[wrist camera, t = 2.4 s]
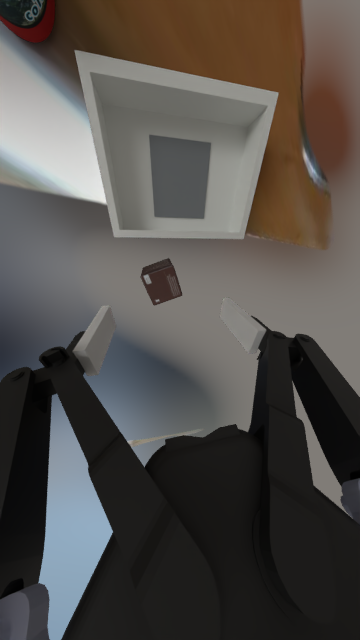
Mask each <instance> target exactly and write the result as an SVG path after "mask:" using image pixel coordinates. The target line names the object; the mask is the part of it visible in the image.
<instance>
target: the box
mask: <svg viewBox="0 0 360 640" xmlns="http://www.w3.org/2000/svg"><path fill="white" fill-rule="evenodd" d="M141 279H142V282H143V284H144V286H145V288H146V290H147V293H148V294H149V296H150V298H151V300H152V303H153V305H157V304H160V303H163V302H166V301H168V300H171V299H174V298H177V297H180V296H182V292H181V288H180V285H179V282H178V278H177V276H176V273H175V269H174V266H173V265H172V263H171V261H170V259H165V260H162V261H160V262H157V263H154V264H152V265H149V266H146V267H144V268H143V270H142V274H141Z"/></svg>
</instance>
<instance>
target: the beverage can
mask: <svg viewBox="0 0 360 640" xmlns="http://www.w3.org/2000/svg"><path fill="white" fill-rule="evenodd" d="M54 19H55V0H0V20H1V21H2V22H3V23H4V24H5V25H6V26H7V27H8V28H9V29H10V30H11V31H12V32H14V33H15V34H16V35H17V36H19V37H21V38H22V39H24V40H27V41H29V42H35V43H37V42H42V41H44V40H45V39H46V38H47V37H48V36H49V35H50V33H51V31H52V28H53V25H54Z"/></svg>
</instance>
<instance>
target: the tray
mask: <svg viewBox="0 0 360 640" xmlns="http://www.w3.org/2000/svg"><path fill="white" fill-rule="evenodd" d="M74 51H75V55H76V60H77V65H78V70H79V74H80V79H81V84H82V88H83V93H84V98H85V102H86V107H87V112H88V117H89V121H90V126H91V131H92V135H93V140H94V145H95V149H96V154H97V159H98V164H99V168H100V173H101V178H102V182H103V187H104V192H105V196H106V201H107V206H108V211H109V215H110V220H111V225H112V229H113V234H114V237H127V238H128V237H129V238H194V239H196V238H199V239H244V235H245V231H246V227H247V222H248V218H249V214H250V210H251V206H252V202H253V197H254V193H255V189H256V185H257V181H258V177H259V173H260V168H261V164H262V160H263V156H264V152H265V148H266V143H267V139H268V135H269V131H270V127H271V123H272V118H273V114H274V110H275V106H276V102H277V98H278V94H279V93H277V92H273V91H268V90H263V89H258V88H254V87H249V86H244V85H239V84H235V83H230V82H225V81H220V80H216V79H211V78H206V77H201V76H197V75H192V74H187V73H182V72H178V71H173V70H168V69H163V68H159V67H154V66H149V65H145V64H140V63H135V62H130V61H126V60H121V59H116V58H111V57H107V56H102V55H97V54H92V53H88V52H83V51H78V50H74Z"/></svg>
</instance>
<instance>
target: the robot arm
mask: <svg viewBox="0 0 360 640" xmlns="http://www.w3.org/2000/svg"><path fill="white" fill-rule="evenodd" d="M220 318H221V319H222V321H223V322H224V323H225V325H226V326H227V327H228V328H229V330H230V331H231V332H232V333H233V335H234V336H235V337H236V339H237V340H238V341H239V342H240V344H241V345H242V346H243V348H244V349H245V350H246V351H247V353H248V354H253V353H256V352H257V349H259V350H260V351H261V352H260V354H259V356H258V358H257V360H258V359H259V362H258V370H257V379H256V386H255V395H254V402H253V411H252V419H251V425H250V428H249V431H248V432H246V431H243V430H240V429H238V428H237V425H236V424H234V425H229V426H225V427H220V428H218V429H217V430H215V431H213V432H212V433H210V434H209V435H207V436H206V437H203V438H202V437H193V436H184V435H183V436H179V437H174V438H170V439H166V440H165V442H166V444H165V445H164V446H162V447H161V448H159V449H158V450H157V451H156V452H155V453H154V454H153V455H152V457H151V458H150V459H149V461H148V462H147V464H146V466H145V468H144V466H143V465H142V463H141V462H140V460H139V459H138V457H137V456H136V454H135V453H134V451H133V450H132V448H131V447H130V445H129V444H128V442H127V441H126V439H125V438H124V436H123V435H122V434H121V432H120V431H119V429H118V428H117V426H116V425H115V423H114V422H113V420H112V419H111V417H110V416H109V414H108V413H107V411H106V410H105V408H104V407H103V406H102V404H101V402H100V401H99V399H98V398H97V396H96V395H95V393H94V392H93V390H92V389H91V387H90V386H89V384H88V383H87V382H86V380H85V379H84V377H83V374H84V372H85V373H86V374H87V376H92V375H98V374H99V371H100V368H101V366H102V363H103V360H104V357H105V355H106V352H107V349H108V347H109V344H110V341H111V338H112V336H113V333H114V331H115V328H116V324H115V321H114V318H113V315H112V311H111V308H110V306H102V307H101V309H100V310H99V312H98V314H97V315H96V316H95V318H94V319H93V321H92V322H91V324H90V325H89V327H88V328H87V330H86V331H82V332H80V333H79V334H77V335H76V336H75V337H74V339H73V341H72V342H71V343H70V344H69V346H68V347H67V349H66V350H65V348H63V347H54V348H51V349H49V350H47V351H45V352H44V353H42V354H41V355H40V357H39V361H40V362H41V363H42V364H43V365H44V368H40V369H38V370H34V371H32V370H31V369H30V368H29V367H23V368H19V369H16V370H14V371H12V372H11V373H9V374H7V375H6V376H5V377H4V378H3V379H2V380H1V382H0V640H50V639H49V635H48V628H47V624H48V611H49V594H48V590H47V588H46V587H45V585H43V584H40V583H38V582H39V576H40V570H41V565H42V559H43V551H44V541H45V527H46V505H47V486H48V485H47V484H48V465H49V443H50V423H51V402H52V395H54V394H56V393H57V394H58V397H59V399H60V401H61V403H62V406H63V408H64V410H65V412H66V415H67V417H68V419H69V421H70V424H71V426H72V428H73V430H74V433H75V435H76V437H77V440H78V442H79V444H80V446H81V449H82V451H83V453H84V455H85V457H86V460H87V462H88V466H89V467H88V472H89V476H90V478H91V481H92V483H93V485H94V488H95V490H96V492H97V495H98V497H99V499H100V502H101V504H102V507H103V509H104V511H105V513H106V516H107V518H108V520H109V523H110V525H111V527H112V530H113V533H112V535H111V537H110V540H109V542H108V544H107V546H106V548H105V550H104V552H103V554H102V556H101V558H100V560H99V562H98V565H97V566H96V569H95V571H94V573H93V575H92V577H91V579H90V581H89V583H88V585H87V587H86V589H85V591H84V593H83V595H82V598H81V599H80V602H79V604H78V606H77V608H76V610H75V612H74V614H73V616H72V618H71V620H70V622H69V624H68V626H67V628H66V630H65V633H64V635H63V637H62V639H61V640H360V397H359V396H358V395H357V394H356V392H355V391H354V390H353V388H352V387H351V386H350V385H349V383H348V382H347V381H346V380H345V378H344V377H343V376H342V375H341V373H340V372H339V371H338V369H337V368H336V367H335V366H334V364H333V363H332V362H331V361H330V359H329V358H328V357H327V356H326V354H325V353H324V352H323V350H322V349H321V348H320V347H319V345H318V344H317V343H316V342H315V341H314V340H313V338H311V337H309V336H307V335H304V334H296V336H295V337H294V338H288V337H286V336H285V335H284V334H282V333H280V332H276V331H271V330H270V329H269V328H268V327H266V326H265V325H264V324H263V323H262V322H260V321H259V320H258V319H257V318H255V317H253V316H250V315H249V314H247V313H246V312H245V311H244V310H243V309H242V308H241V307H239V306H238V305H237V304H236V303H235V302H234V301H232V300H231V299H230V298H229V297H228V298H223V302H222V307H221V312H220ZM292 381H293V383H294V385H295V387H296V390H297V392H298V395H299V397H300V399H301V401H302V404H303V406H304V408H305V411H306V413H307V415H308V418H309V420H310V422H311V425H312V427H313V429H314V432H315V434H316V436H317V439H318V441H319V443H320V445H321V448H322V450H323V453H324V455H325V457H326V459H327V461H328V463H329V465H330V467H331V469H332V471H333V473H334V475H335V476H336V478H337V480H338V482H339V483H340V485H341V487H342V493H343V496H341V503H342V506H343V507H344V509H345V510H346V512H347V513H348V514H349V515H350V516H351V517H352V518H353V519H352V518H351V517H350V516H349V515H348V514H346V513H345V512H344V511H343V510H342V509H341V508H339V507H338V506H337V505H336V504H335V503H334V502H332V501H331V500H330V499H329V498H328V497H326V496H325V495H324V494H323V493H322V492H321V491H319V490H318V489H317V488H316V487H315V486H314V485H313V480H312V473H311V467H310V460H309V454H308V447H307V440H306V434H305V427H304V424H303V422H302V420H300V419H298V418H297V417H296V409H295V401H294V393H293V384H292Z"/></svg>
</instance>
